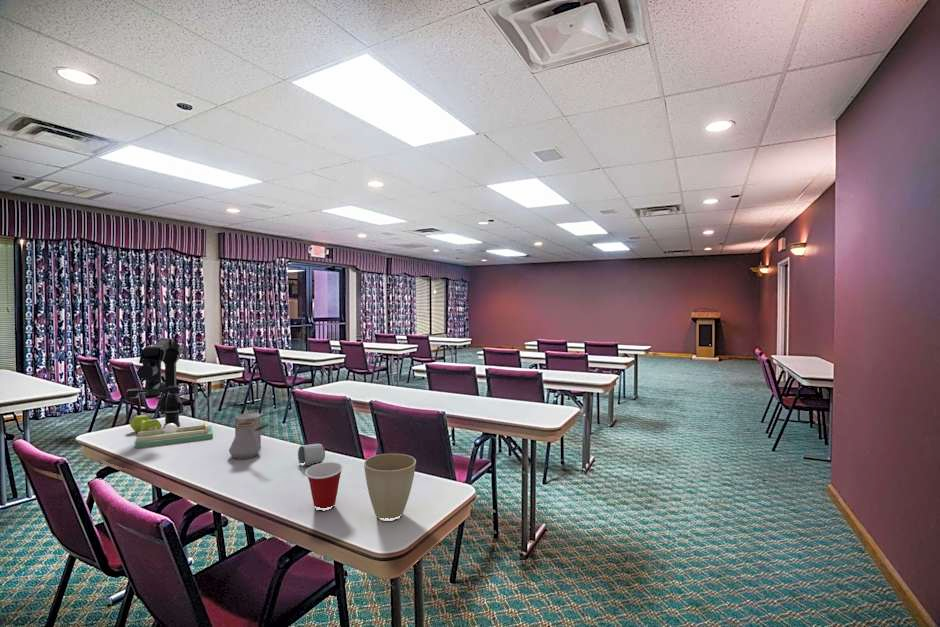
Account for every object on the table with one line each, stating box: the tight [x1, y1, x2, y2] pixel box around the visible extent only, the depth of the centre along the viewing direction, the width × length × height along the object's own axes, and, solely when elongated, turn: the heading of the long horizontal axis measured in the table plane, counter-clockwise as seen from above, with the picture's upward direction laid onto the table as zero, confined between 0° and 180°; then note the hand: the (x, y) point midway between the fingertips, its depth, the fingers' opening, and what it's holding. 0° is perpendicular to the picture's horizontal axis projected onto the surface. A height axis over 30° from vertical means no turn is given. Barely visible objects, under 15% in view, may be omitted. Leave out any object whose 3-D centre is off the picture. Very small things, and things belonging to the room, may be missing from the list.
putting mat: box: [135, 420, 214, 449], centre depth 202 cm, size 16×28×5 cm, turn 122°
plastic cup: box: [304, 461, 344, 508], centre depth 136 cm, size 11×11×12 cm
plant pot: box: [363, 453, 417, 519], centre depth 131 cm, size 15×15×16 cm
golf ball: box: [163, 423, 178, 434], centre depth 201 cm, size 5×5×5 cm
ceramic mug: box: [297, 443, 326, 467], centre depth 174 cm, size 11×8×8 cm
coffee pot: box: [228, 422, 270, 460], centre depth 178 cm, size 21×12×15 cm, turn 58°
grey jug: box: [234, 412, 262, 446], centre depth 191 cm, size 10×10×15 cm
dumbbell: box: [129, 414, 162, 433], centre depth 210 cm, size 16×8×7 cm, turn 54°
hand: (153, 411), depth 197 cm, fingers open, 9 cm apart
